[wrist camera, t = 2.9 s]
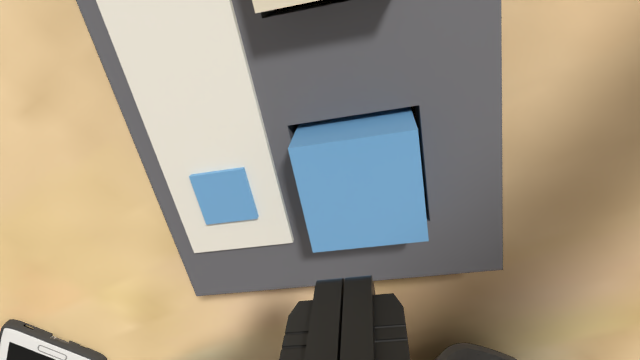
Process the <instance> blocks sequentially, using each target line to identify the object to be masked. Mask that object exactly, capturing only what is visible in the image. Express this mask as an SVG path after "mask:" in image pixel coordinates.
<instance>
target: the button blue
mask: <svg viewBox="0 0 640 360" xmlns="http://www.w3.org/2000/svg"><path fill="white" fill-rule="evenodd" d="M288 151H289V156H290V160H291V164H292V168H293V172H294V176H295V180H296V185H297V189H298V193H299V197H300V201H301V205H302V209H303V214H304V218H305V222H306V226H307V230H308V234H309V238H310V243H311V247H312V251H313V253H315V252H325V251H335V250H345V249H355V248H365V247H375V246H385V245H395V244H405V243H415V242H425V241H429V238H428V228H427V218H426V207H425V197H424V186H423V176H422V166H421V155H420V145H419V135H418V128H417V125H416V122H415V119H414V116H413V113H412V110H411V107H404V108H398V109H391V110H385V111H379V112H372V113H366V114H359V115H353V116H346V117H340V118H333V119H327V120H321V121H314V122H308V123H301V124H298V127H297V129H296V131H295V133H294V136H293V138H292V140H291V142H290V145H289V147H288Z"/></svg>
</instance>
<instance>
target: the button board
mask: <svg viewBox="0 0 640 360" xmlns="http://www.w3.org/2000/svg"><path fill="white" fill-rule="evenodd" d="M76 1H77V4H78V6H79V8H80V11H81V13H82V16H83V18H84V21H85V23H86V26H87V28H88V31H89V33H90V36H91V38H92V40H93V43H94V45H95V48H96V50H97V53H98V55H99V58H100V60H101V63H102V65H103V67H104V70H105V72H106V75H107V77H108V80H109V82H110V85H111V87H112V90H113V92H114V94H115V97H116V99H117V102H118V104H119V107H120V109H121V112H122V114H123V117H124V119H125V121H126V124H127V126H128V129H129V131H130V134H131V136H132V139H133V141H134V144H135V146H136V148H137V151H138V153H139V156H140V158H141V161H142V163H143V166H144V168H145V171H146V173H147V175H148V178H149V180H150V183H151V185H152V188H153V190H154V193H155V195H156V198H157V200H158V202H159V205H160V207H161V210H162V212H163V215H164V217H165V220H166V222H167V225H168V227H169V230H170V232H171V234H172V237H173V239H174V242H175V244H176V247H177V249H178V252H179V254H180V257H181V259H182V261H183V264H184V266H185V269H186V271H187V274H188V276H189V279H190V281H191V284H192V286H193V288H194V291H195V293H196V296H203V295H215V294H227V293H238V292H250V291H261V290H273V289H285V288H296V287H308V286H315V285H316V281H317V280H327V279H338V278H344V280H345V278H348V277H359V276H370V275H372V278H373V281H377V280H389V279H400V278H412V277H424V276H435V275H447V274H458V273H470V272H482V271H493V270H503V223H502V57H501V0H333V1H328V2H323V3H318V4H314V5H309V6H304V7H299V8H294V9H289V10H284V11H279V12H277V11H276V9H274V10H270V11H265V12H260V13H255V10H254V6H253V2H252V0H76ZM411 106H414V112H415V122H416V125H417V128H418V135H419V145H420V155H421V166H422V176H423V186H424V197H425V207H426V218H427V228H428V238H429V241H425V242H415V243H405V244H395V245H385V246H375V247H365V248H355V249H345V250H335V251H325V252H315V253H313V251H312V247H311V243H310V238H309V234H308V230H307V226H306V222H305V218H304V214H303V209H302V205H301V201H300V197H299V193H298V189H297V185H296V180H295V176H294V172H293V168H292V164H291V160H290V156H289V151H288V147H289V145H290V142H291V140H292V138H293V136H294V133H295V131H296V129H297V127H298V124H301V123H308V122H314V121H321V120H327V119H333V118H340V117H346V116H353V115H359V114H366V113H372V112H379V111H385V110H391V109H398V108H404V107H411Z"/></svg>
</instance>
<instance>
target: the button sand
mask: <svg viewBox="0 0 640 360" xmlns="http://www.w3.org/2000/svg"><path fill="white" fill-rule="evenodd" d="M313 1H318V0H252V2H253V6H254V10H255V13H260V12H265V11H270V10H274V9H279V8H284V7H289V6H294V5H299V4H304V3H308V2H313Z"/></svg>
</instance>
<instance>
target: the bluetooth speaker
mask: <svg viewBox="0 0 640 360" xmlns="http://www.w3.org/2000/svg"><path fill="white" fill-rule="evenodd" d="M435 360H517V359H515V358H513V357H511V356H508V355H506V354H503V353H501V352H498V351H495V350H492V349H489V348H486V347H482V346H478V345H474V344H470V343H458V344H454V345H452V346H449V347H448V348H446V349H445V350H444V351H443V352H442V353H441V354H440V355H439V356H438V357H437V358H436V359H435Z"/></svg>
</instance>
